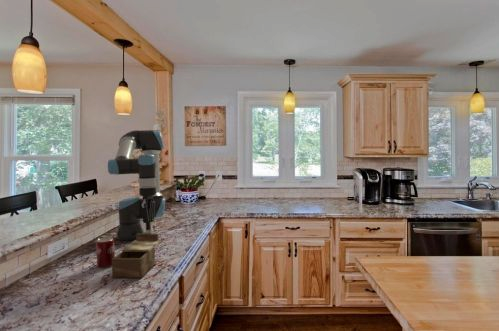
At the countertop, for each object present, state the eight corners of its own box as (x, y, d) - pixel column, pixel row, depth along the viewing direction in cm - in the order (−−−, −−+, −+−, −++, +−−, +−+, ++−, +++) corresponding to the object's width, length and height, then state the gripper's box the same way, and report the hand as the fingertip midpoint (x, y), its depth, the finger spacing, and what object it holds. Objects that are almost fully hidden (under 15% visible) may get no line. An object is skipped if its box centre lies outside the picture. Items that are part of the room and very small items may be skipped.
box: (129, 265, 132) (128, 247, 131) (155, 265, 131) (154, 247, 130) (112, 278, 118) (111, 259, 117) (141, 278, 117) (140, 259, 116)
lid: (136, 241, 139) (135, 233, 139) (160, 241, 138) (160, 233, 138) (121, 251, 125) (121, 242, 125) (148, 251, 124) (148, 242, 124)
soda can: (95, 270, 127) (94, 242, 126) (99, 263, 134) (98, 238, 133) (113, 267, 129) (112, 241, 128) (116, 261, 136) (115, 236, 135)
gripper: (145, 185, 145) (147, 232, 147) (133, 188, 132) (135, 240, 134) (160, 185, 145) (161, 232, 146) (149, 188, 132) (151, 239, 133)
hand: (149, 235), depth 140 cm, fingers closed
